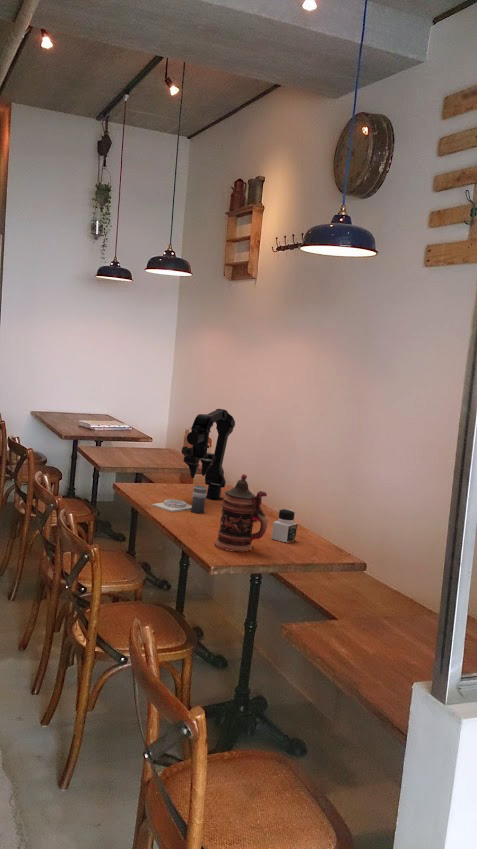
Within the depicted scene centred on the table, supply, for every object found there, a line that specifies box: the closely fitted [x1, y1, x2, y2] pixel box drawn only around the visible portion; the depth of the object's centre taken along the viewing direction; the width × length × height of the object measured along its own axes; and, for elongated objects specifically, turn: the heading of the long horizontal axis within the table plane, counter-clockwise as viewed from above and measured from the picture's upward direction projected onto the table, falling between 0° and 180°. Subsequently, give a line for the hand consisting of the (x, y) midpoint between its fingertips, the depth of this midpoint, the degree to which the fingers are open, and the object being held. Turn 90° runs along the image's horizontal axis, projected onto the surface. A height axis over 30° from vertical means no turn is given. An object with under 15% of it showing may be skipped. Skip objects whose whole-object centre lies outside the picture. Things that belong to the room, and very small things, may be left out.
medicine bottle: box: [271, 508, 298, 544], centre depth 292 cm, size 7×7×12 cm
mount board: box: [151, 498, 192, 513], centre depth 325 cm, size 16×12×3 cm
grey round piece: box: [190, 485, 208, 514], centre depth 321 cm, size 6×6×11 cm
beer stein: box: [215, 474, 268, 552], centre depth 271 cm, size 17×28×18 cm
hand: (197, 476), depth 334 cm, fingers open, 9 cm apart
